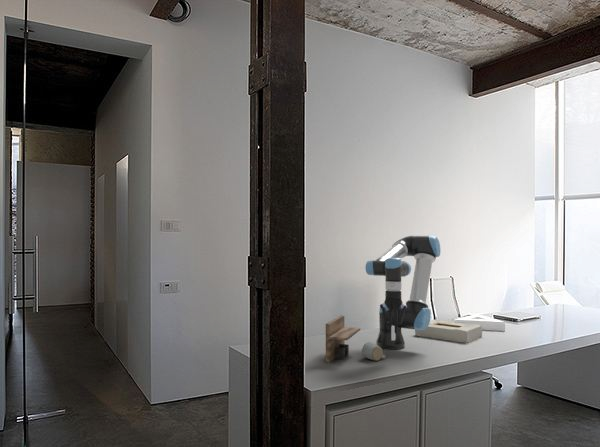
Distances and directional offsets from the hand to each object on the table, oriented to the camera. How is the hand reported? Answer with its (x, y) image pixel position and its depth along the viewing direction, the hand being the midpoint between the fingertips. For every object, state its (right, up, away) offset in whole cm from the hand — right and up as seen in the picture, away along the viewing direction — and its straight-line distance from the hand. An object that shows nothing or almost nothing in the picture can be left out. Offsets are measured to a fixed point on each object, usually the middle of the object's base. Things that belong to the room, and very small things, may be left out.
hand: (393, 339), depth 229 cm
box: (+44, -12, +57) cm, 73 cm away
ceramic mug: (-8, -11, +4) cm, 14 cm away
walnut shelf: (-23, -10, +9) cm, 27 cm away
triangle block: (+73, -13, +88) cm, 115 cm away
